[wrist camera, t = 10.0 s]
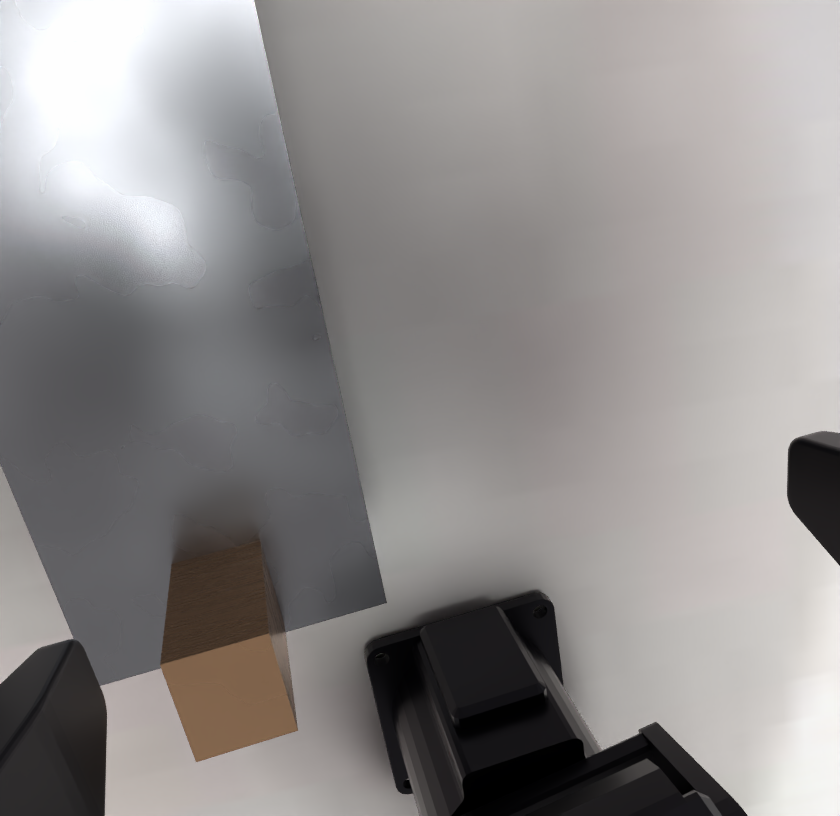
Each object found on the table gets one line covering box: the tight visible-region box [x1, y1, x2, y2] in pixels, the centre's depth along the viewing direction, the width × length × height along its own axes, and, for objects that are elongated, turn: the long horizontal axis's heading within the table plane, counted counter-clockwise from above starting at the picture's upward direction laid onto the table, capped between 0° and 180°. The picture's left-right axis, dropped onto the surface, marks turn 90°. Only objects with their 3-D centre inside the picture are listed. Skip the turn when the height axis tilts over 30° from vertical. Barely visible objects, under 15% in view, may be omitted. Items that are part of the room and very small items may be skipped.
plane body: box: [0, 0, 387, 762], centre depth 15 cm, size 22×7×8 cm, turn 10°
